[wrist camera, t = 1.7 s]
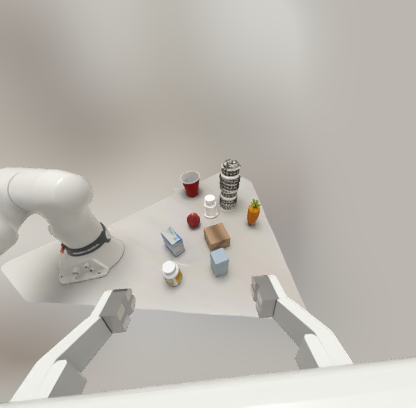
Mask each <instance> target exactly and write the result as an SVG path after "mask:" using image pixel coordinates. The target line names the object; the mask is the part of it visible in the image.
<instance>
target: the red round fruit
mask: <svg viewBox="0 0 416 408" xmlns="http://www.w3.org/2000/svg"><path fill="white" fill-rule="evenodd" d="M187 222H188V224H189V225H190V226H192V227H195V226H197V225H198V224H199V222H200V217H199V216H198V215H197V214H196V213H191V214H190V215H189V216H188V217H187Z"/></svg>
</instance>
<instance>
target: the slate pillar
mask: <svg viewBox="0 0 416 408" xmlns="http://www.w3.org/2000/svg"><path fill="white" fill-rule="evenodd" d="M210 257H211V267H212V269H213V272H214V274H215V276H216V277H217V276H219V275H222V274H224V273H226V272H227V269H228V261H229V259H228V257H227V255H226V253H225V251H224V249H223V247H222V248H220V249H217V250H215V251H212V252H210Z"/></svg>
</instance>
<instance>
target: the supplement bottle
mask: <svg viewBox="0 0 416 408" xmlns="http://www.w3.org/2000/svg"><path fill="white" fill-rule="evenodd" d="M162 269H163V270H162V274H163V276H164V278H165V280H166V281H167V283H168V284H169V285H170V286H176V285H178V284H179V283H180V282H181V280H182V274H181V272H180V269H179V267H178V265H177V264H176V263H174V262H173V261H167V262H165V263H164V264H163V267H162Z"/></svg>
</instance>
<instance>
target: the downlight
mask: <svg viewBox="0 0 416 408" xmlns="http://www.w3.org/2000/svg"><path fill="white" fill-rule="evenodd" d="M204 208H205V211H204V215H205V216H206V217H208V218H214V217H216V216H217V214H218V211H217V207H216V201H215V197H214V196H213V195H207V196H206V197H205V202H204Z"/></svg>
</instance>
